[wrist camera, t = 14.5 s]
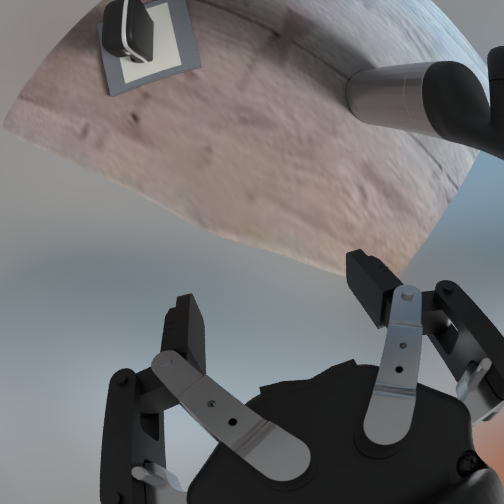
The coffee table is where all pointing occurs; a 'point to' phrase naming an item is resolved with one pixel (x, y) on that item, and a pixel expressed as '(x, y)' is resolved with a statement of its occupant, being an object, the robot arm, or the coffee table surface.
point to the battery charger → (128, 31)
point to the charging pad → (156, 49)
